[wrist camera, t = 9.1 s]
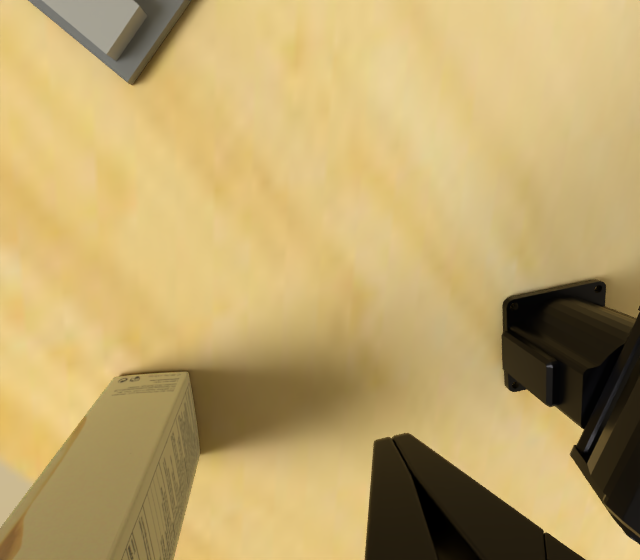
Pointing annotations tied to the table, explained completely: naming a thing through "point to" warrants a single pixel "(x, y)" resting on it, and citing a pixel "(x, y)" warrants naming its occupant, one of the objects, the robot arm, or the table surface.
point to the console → (117, 28)
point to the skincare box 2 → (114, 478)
